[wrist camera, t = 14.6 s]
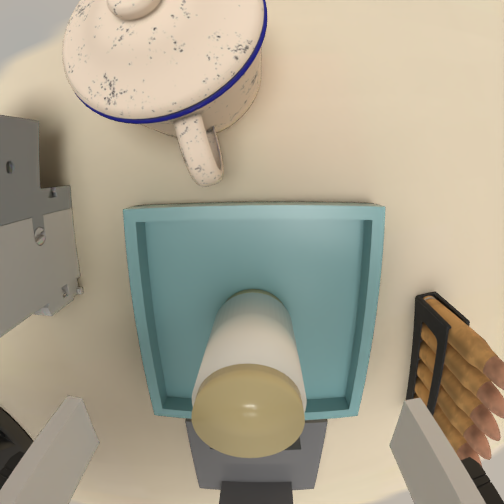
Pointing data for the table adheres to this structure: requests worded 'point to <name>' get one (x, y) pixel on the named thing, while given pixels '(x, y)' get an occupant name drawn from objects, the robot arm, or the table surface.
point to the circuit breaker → (32, 231)
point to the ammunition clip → (455, 377)
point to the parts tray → (256, 277)
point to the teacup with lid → (169, 68)
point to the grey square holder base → (260, 468)
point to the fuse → (250, 379)
